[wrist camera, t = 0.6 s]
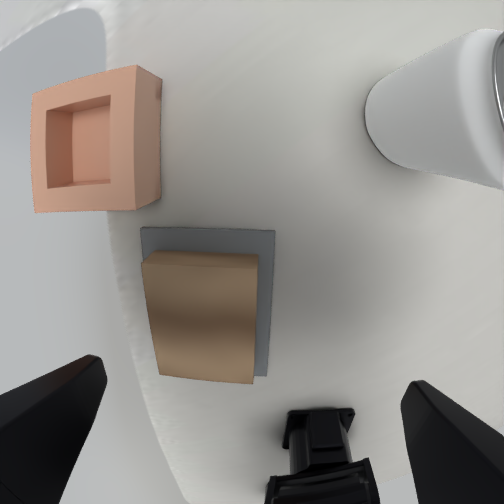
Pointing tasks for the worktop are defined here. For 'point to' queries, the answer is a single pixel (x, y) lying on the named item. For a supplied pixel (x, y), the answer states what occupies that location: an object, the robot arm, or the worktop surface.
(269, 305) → the mat
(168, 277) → the lid
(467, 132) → the can
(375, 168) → the worktop surface
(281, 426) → the worktop surface
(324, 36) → the worktop surface
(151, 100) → the pink square box
